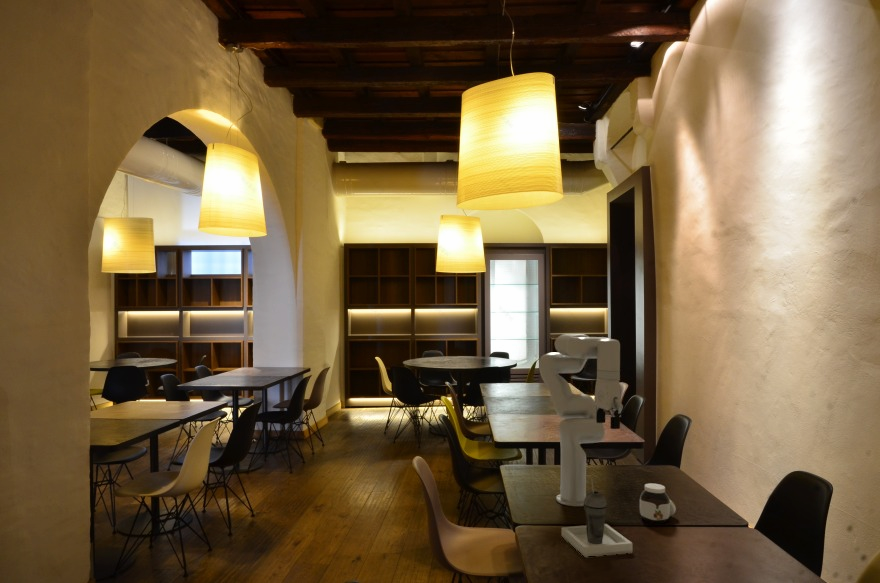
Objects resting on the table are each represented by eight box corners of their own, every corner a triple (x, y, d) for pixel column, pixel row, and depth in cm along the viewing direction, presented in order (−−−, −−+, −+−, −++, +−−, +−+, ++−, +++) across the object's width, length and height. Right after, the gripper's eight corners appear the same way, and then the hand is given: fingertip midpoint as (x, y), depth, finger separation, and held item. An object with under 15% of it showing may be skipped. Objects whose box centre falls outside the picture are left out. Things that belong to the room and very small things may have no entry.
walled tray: (561, 536, 194) (561, 527, 194) (606, 532, 197) (606, 523, 197) (584, 557, 178) (584, 547, 178) (632, 553, 182) (632, 543, 182)
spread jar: (638, 521, 209) (639, 487, 209) (640, 510, 219) (640, 478, 219) (675, 526, 204) (676, 492, 204) (675, 515, 215) (676, 482, 215)
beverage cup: (607, 547, 184) (608, 482, 184) (583, 544, 185) (584, 480, 186) (606, 538, 191) (606, 475, 191) (582, 535, 192) (583, 473, 193)
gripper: (586, 372, 211) (585, 420, 211) (611, 378, 194) (610, 431, 194) (605, 372, 213) (605, 420, 213) (631, 378, 196) (631, 430, 196)
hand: (607, 425), depth 203 cm, fingers open, 9 cm apart
